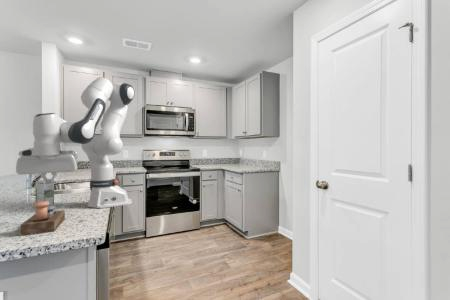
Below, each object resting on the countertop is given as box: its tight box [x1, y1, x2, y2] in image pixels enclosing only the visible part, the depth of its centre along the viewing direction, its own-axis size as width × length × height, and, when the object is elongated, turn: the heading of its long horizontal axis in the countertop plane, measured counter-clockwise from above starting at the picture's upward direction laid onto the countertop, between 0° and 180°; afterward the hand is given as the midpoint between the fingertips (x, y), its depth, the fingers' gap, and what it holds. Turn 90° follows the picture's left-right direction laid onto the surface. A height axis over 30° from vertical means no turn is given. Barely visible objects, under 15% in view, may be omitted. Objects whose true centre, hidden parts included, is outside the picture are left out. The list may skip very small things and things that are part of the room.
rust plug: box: [32, 201, 49, 220], centre depth 85 cm, size 5×5×6 cm
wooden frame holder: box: [20, 210, 66, 237], centre depth 89 cm, size 10×16×4 cm, turn 25°
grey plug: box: [47, 205, 56, 216], centre depth 93 cm, size 5×5×6 cm
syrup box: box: [34, 179, 55, 206], centre depth 118 cm, size 6×6×14 cm
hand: (49, 183), depth 93 cm, fingers closed
